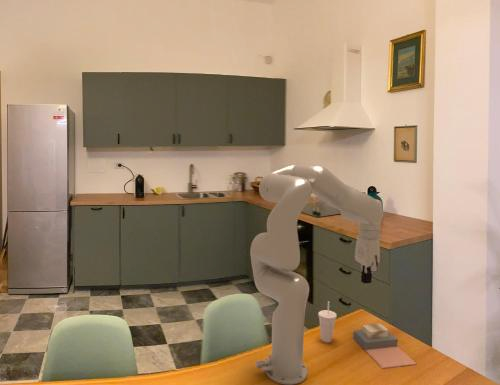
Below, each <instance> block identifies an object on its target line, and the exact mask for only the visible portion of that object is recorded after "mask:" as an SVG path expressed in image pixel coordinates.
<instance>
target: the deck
mask: <svg viewBox="0 0 500 385" xmlns="http://www.w3.org/2000/svg"><path fill="white" fill-rule="evenodd" d="M352 337H353V338H352V339H353V340H354V341H355V342H356V343H357V344H358V345H359V346H360V347H361V348H362V350H364V351H365V350H369V349H378V348H386V347H395V346H397V347H398V341H399V340H398V338H397V337H396V336H395V335H394V334H392V333H391V332H389V330H388V337H383V338H374V339H369V338H368V337H367V336H366V335H365V334H364V333H363V332H362V329H357V330H356V329H355V330H353V336H352Z"/></svg>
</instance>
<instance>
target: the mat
mask: <svg viewBox="0 0 500 385" xmlns="http://www.w3.org/2000/svg"><path fill="white" fill-rule="evenodd" d="M364 351H365V352H366V353H367V354H368V356H369V357H370V358H371V359H372V360H373V361H374V362H375V363H376V364H377V365H378V366H379V367H380V368H381V369H383V370H385V369H386V370H387V369H394V368H399V367H400V368H401V367H409V366H415V365H417V363H416V362H415V360H413V359H412V358H411V357H410V356H409V355H408V354H407V353H405V352H404V351H403V350H402V349H401V348H400V347H399V346H398V345H397V346H395V347H386V348H378V349H369V350H364Z"/></svg>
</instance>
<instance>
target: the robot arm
mask: <svg viewBox="0 0 500 385" xmlns="http://www.w3.org/2000/svg"><path fill="white" fill-rule="evenodd" d="M258 191H259V195H260V197H261V198H262V199H263V200H264V201H266V202H268V203H273V204H275V206H274V207H273V209H272V210H271V211H270V213H269V215H268V217H267V220H266V231H267V232H261V233H259V234H257V235H255V236H254V239H253V240H252V242H251V245H250V261H251V267H252V276H253V280H254V284H255V288H256V290H258V292H259V293H261V294H262V295H265V296H266V297H269V298H271V299H273V300H275V301H276V302H277V303H278V304H277V307H276V308H275V309H274V311H273V313H272V319H271V354H269V355H268V358H265V360H256V361H255V368H256V369H260V368H261V372H265V374H266V375H267V377H268V378H269V379H270V380H271V381H273V382H275V383H278V384H281V385H296V384H300V383H302V382H304V381H305V380H306V379H307V377H308V368H307V366H306V365H305V364H304V363H303V360H304V359H303V358H304V339H305V338H304V337H305V336H304V335H305V314H306V306H307V303H308V298H309V295H310V294H309V293H310V285H309V283H308V281H307V279H306V278H305V277H304V276H302V275H301V274H300V273H297V272H294V271H296V269H297V268H298V267H299V265H300V261H301V252H300V251H301V250H300V242H299V234H298V233H299V232H298V219H299V217H300V215H301V213H302V211H303V210H304V208H305V207H306V205H307V204H308V203H309V201H310V199H311V197H312V194H313V195H314V196H315V197H317V198H318V199H320V200H321V201H322V202H323V203H325V204H326V205H327V206H329V207H331V208H334V209H337V210H339V211H340V215H341V217H342V219H344V220H346V221H348V222H352V223H353V222H354V223H358V233H357V234H358V235H357V238H356V244H355V252H354V260H355V261H356V262H357V263H359V264H360V271H361V276H360V282H362V283H363V284H371V283H372V277H373V276H372V275H373V272H377V267H379V266H380V259H381V244H380V242H381V241H380V239H381V226H382V224H381V223H382V221H383V219H384V210H383V203H382V201H381V200H380V199H376V198H374V197H372V196H370V195H369V194H366V193H365V192H363V191H361V190H359V189H357V188H355V187H353V186H350V185H348V184H346V183H344V182H343V181H342V180H341V179H340V178H338V177H337V176H336V175H335V174H333V173H332V172H331V171H330V170H329V169H328V168H326V167H325V166H322V165H320V164H313V163H294V164H290V165H288V166H285V167H282V168H280V169H278V170H274V171H272V172H269V173H267V174H266V175H264V177H262V179H260V182H259V185H258Z"/></svg>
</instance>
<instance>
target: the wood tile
mask: <svg viewBox="0 0 500 385" xmlns="http://www.w3.org/2000/svg"><path fill="white" fill-rule="evenodd" d="M361 330H362V332H363V333H364V334H365V335H366V336H367V337H368V338H369V339H374V338H383V337H388V331H389V329H388V328H386V327H385V326H384V325H383V324H381V323H373V324H363V325H362V329H361Z"/></svg>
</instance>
